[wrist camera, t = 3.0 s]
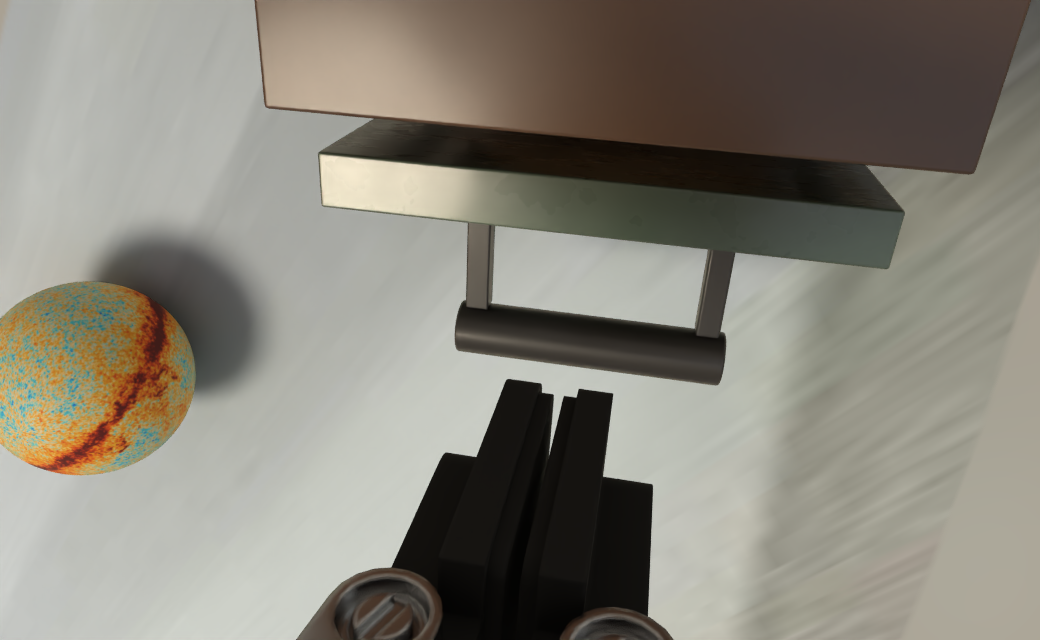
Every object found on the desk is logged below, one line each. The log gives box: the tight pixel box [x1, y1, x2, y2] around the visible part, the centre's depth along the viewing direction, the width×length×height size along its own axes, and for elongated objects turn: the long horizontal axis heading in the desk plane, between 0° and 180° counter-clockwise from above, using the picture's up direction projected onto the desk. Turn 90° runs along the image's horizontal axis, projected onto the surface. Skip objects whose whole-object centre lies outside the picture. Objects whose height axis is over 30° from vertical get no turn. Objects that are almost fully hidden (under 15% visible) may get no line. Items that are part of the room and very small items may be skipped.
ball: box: [0, 282, 196, 475], centre depth 28 cm, size 7×7×7 cm
